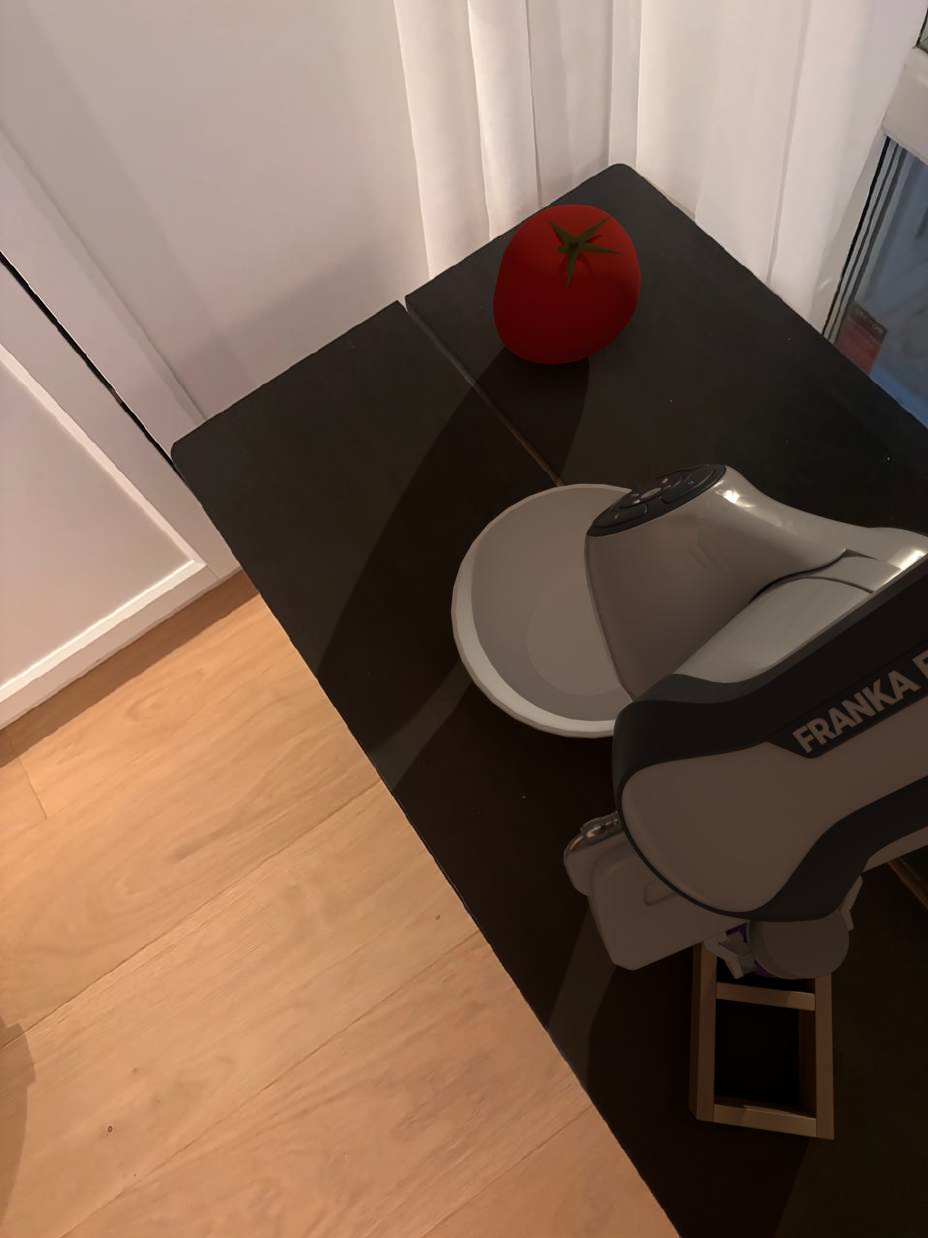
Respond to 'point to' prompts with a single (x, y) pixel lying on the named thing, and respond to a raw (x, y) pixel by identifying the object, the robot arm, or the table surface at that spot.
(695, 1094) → the rack
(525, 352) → the tomato
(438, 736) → the table surface
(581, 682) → the bowl
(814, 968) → the container
